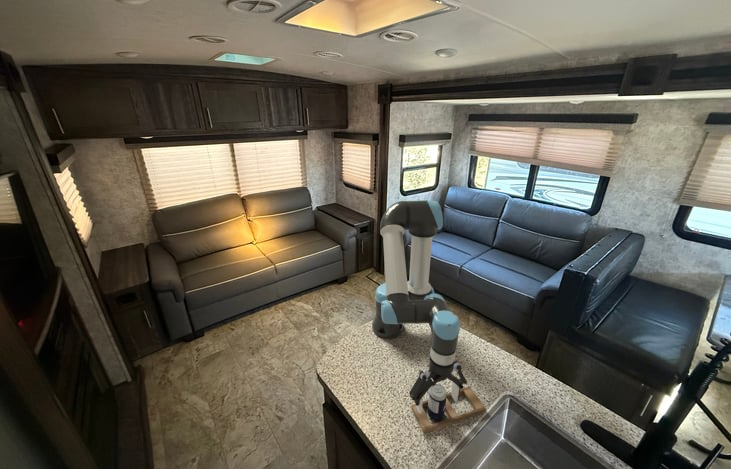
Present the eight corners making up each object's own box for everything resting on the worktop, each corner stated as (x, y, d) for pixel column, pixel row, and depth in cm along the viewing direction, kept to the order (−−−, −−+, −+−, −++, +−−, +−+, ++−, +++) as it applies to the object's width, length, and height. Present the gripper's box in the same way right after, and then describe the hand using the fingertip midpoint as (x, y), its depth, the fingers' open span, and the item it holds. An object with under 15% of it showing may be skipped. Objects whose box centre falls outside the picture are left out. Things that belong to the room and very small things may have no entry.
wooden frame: (411, 408, 101) (411, 405, 100) (469, 390, 107) (469, 386, 106) (423, 434, 93) (423, 430, 92) (485, 412, 99) (486, 408, 98)
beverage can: (444, 424, 95) (447, 399, 91) (427, 421, 96) (429, 396, 92) (443, 408, 101) (446, 384, 96) (427, 405, 102) (429, 381, 97)
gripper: (410, 377, 81) (407, 425, 90) (484, 356, 88) (474, 403, 96) (400, 358, 88) (398, 404, 96) (469, 339, 95) (461, 384, 103)
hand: (436, 403), depth 96 cm, fingers open, 13 cm apart
